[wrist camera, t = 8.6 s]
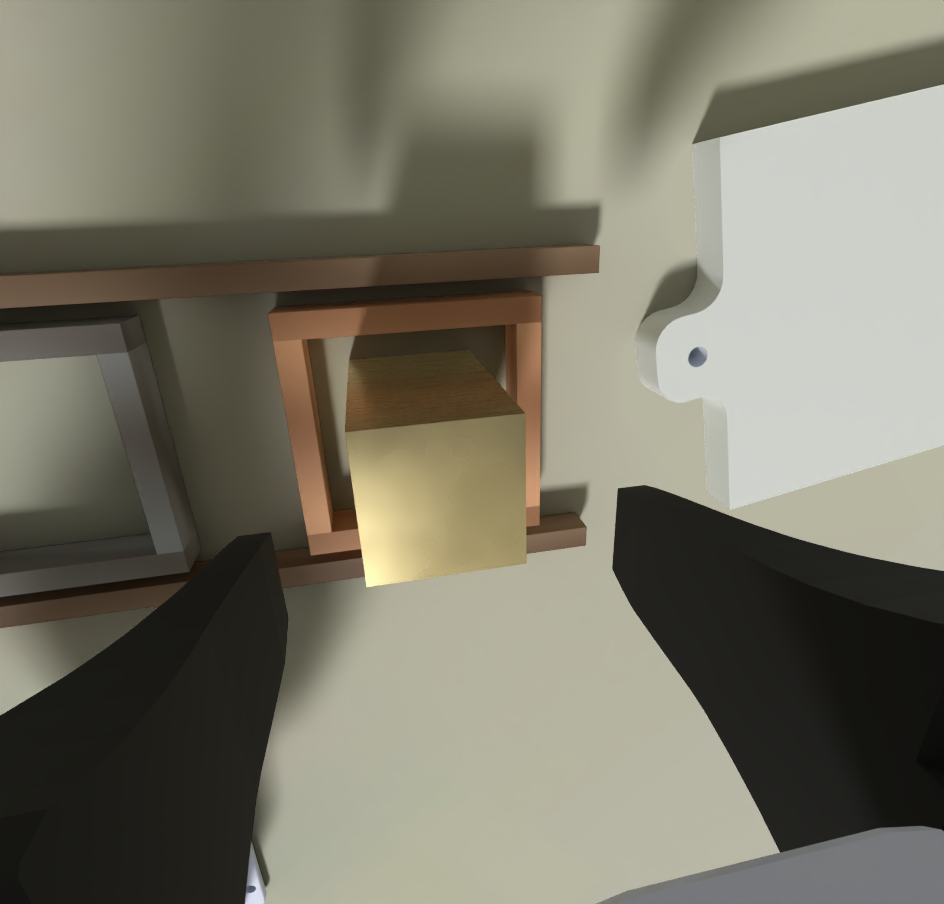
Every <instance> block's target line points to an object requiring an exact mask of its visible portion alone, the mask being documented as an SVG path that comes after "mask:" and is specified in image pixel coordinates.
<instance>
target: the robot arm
mask: <svg viewBox="0 0 944 904" xmlns="http://www.w3.org/2000/svg"><path fill="white" fill-rule="evenodd" d="M612 569H613V571H614V573H615V575H616V577H617V579H618V581H619V583H620V586H621V588H622V590H623V591H624V593H625V595H626V597H627V599H628V601H629V603H630V605H631V606H632V608H633V609H634V611H635V612H636V614H637V615H638V617H639V618H640V620H641V621H642V622H643V624H644V625H645V627H646V628H647V630H648V631H649V632H650V634H651V635H652V637H653V638H654V640H655V641H656V642H657V644H658V645H659V646H660V648H661V649H662V651H663V652H664V653H665V655H666V656H667V658H668V659H669V660H670V662H671V663H672V665H673V666H674V667H675V669H676V670H677V672H678V673H679V674H680V676H681V677H682V678H683V680H684V681H685V683H686V684H687V685H688V687H689V688H690V690H691V691H692V693H693V694H694V696H695V697H696V699H697V700H698V702H699V703H700V705H701V706H702V708H703V709H704V711H705V713H706V714H707V716H708V718H709V720H710V721H711V723H712V725H713V727H714V728H715V730H716V732H717V734H718V735H719V737H720V739H721V741H722V742H723V744H724V746H725V748H726V749H727V751H728V753H729V755H730V756H731V758H732V760H733V762H734V764H735V766H736V768H737V769H738V771H739V773H740V775H741V777H742V779H743V781H744V783H745V784H746V786H747V788H748V790H749V792H750V794H751V796H752V798H753V799H754V801H755V803H756V805H757V807H758V809H759V811H760V813H761V815H762V817H763V819H764V821H765V823H766V825H767V827H768V829H769V831H770V833H771V835H772V837H773V839H774V841H775V843H776V845H777V847H778V849H779V851H780V853H777V854H773V855H769V856H765V857H761V858H757V859H753V860H749V861H745V862H741V863H737V864H733V865H729V866H725V867H721V868H717V869H713V870H709V871H705V872H701V873H697V874H693V875H689V876H685V877H681V878H677V879H673V880H669V881H665V882H661V883H657V884H653V885H649V886H645V887H641V888H637V889H633V890H629V891H626V892H623V893H621V894H619V895H616V896H614V897H611V898H609V899H607V900H604V901H602V902H599V903H597V904H944V571H939V570H933V569H927V568H921V567H915V566H909V565H904V564H899V563H894V562H889V561H884V560H879V559H874V558H869V557H865V556H860V555H856V554H852V553H847V552H843V551H840V550H836V549H832V548H828V547H825V546H821V545H817V544H813V543H810V542H806V541H803V540H799V539H796V538H793V537H789V536H786V535H783V534H780V533H777V532H774V531H771V530H768V529H765V528H762V527H759V526H756V525H754V524H751V523H748V522H745V521H742V520H740V519H737V518H734V517H732V516H729V515H726V514H724V513H721V512H719V511H716V510H713V509H711V508H708V507H706V506H703V505H700V504H698V503H695V502H693V501H690V500H688V499H685V498H682V497H680V496H677V495H674V494H672V493H669V492H666V491H663V490H660V489H657V488H654V487H650V486H646V485H642V486H634V487H626V488H618V495H617V509H616V524H615V538H614V553H613V567H612ZM287 629H288V614H287V609H286V604H285V599H284V594H283V590H282V585H281V580H280V575H279V570H278V565H277V560H276V556H275V551H274V546H273V541H272V536H271V532H270V533H262V534H254V535H246V536H238V537H237V538H236V539H234V540H233V541H232V542H231V543H229V544H228V545H227V546H226V547H225V548H224V549H223V550H222V551H221V552H220V553H219V554H217V555H216V556H215V557H214V558H213V559H212V560H211V561H210V562H209V563H208V564H207V565H206V566H205V567H204V568H202V569H201V570H200V571H199V572H198V573H197V574H196V575H195V576H194V577H193V578H192V579H190V580H189V581H188V582H187V583H186V584H185V585H184V586H183V587H182V588H181V589H179V590H178V591H177V592H176V593H175V594H174V595H173V596H171V597H170V598H169V599H168V600H167V601H165V602H164V603H163V604H162V605H161V606H159V607H158V608H157V609H156V610H155V611H153V612H152V613H151V614H150V615H149V616H147V617H146V618H145V619H144V620H142V621H141V622H140V623H139V624H138V625H136V626H135V627H134V628H133V629H131V630H130V631H129V632H128V633H126V634H125V635H124V636H122V637H121V638H120V639H118V640H117V641H116V642H114V643H113V644H112V645H110V646H109V647H107V648H106V649H105V650H103V651H102V652H100V653H99V654H97V655H96V656H95V657H93V658H92V659H90V660H89V661H87V662H86V663H84V664H83V665H82V666H80V667H79V668H77V669H76V670H74V671H73V672H71V673H70V674H68V675H66V676H65V677H63V678H62V679H60V680H58V681H57V682H55V683H53V684H52V685H50V686H48V687H47V688H45V689H44V690H42V691H40V692H39V693H37V694H35V695H34V696H32V697H30V698H29V699H27V700H25V701H24V702H22V703H20V704H19V705H17V706H16V707H14V708H12V709H11V710H9V711H7V712H6V713H4V714H2V715H0V904H264V903H265V900H266V889H265V886H264V882H263V879H262V875H261V872H260V869H259V865H258V862H257V858H256V855H255V852H254V848H253V845H252V841H251V840H252V831H253V823H254V814H255V805H256V798H257V792H258V787H259V781H260V775H261V770H262V766H263V761H264V757H265V752H266V748H267V743H268V739H269V734H270V729H271V725H272V720H273V716H274V711H275V707H276V702H277V698H278V693H279V688H280V684H281V679H282V674H283V669H284V664H285V654H286V643H287Z"/></svg>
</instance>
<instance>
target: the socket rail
mask: <svg viewBox="0 0 944 904" xmlns="http://www.w3.org/2000/svg"><path fill="white" fill-rule="evenodd" d="M599 255H600V246H598V245H587V244H583V245H564V246H544V247H524V248H505V249H485V250H465V251H446V252H426V253H406V254H386V255H367V256H347V257H327V258H308V259H288V260H268V261H249V262H229V263H209V264H189V265H170V266H150V267H130V268H111V269H91V270H71V271H52V272H32V273H12V274H0V308H15V307H32V306H49V305H66V304H82V303H99V302H116V301H133V300H150V299H166V298H183V297H200V296H217V295H234V294H250V293H267V292H284V291H301V290H318V289H334V288H351V287H368V286H385V285H402V284H418V283H435V282H452V281H469V280H486V279H502V278H519V277H536V276H553V275H569V274H586V273H599ZM268 317H269V323H270V328H271V334H272V339H273V345H274V351H275V356H276V362H277V368H278V373H279V379H280V385H281V390H282V396H283V401H284V407H285V413H286V418H287V424H288V430H289V435H290V441H291V447H292V452H293V458H294V463H295V469H296V475H297V480H298V486H299V492H300V497H301V503H302V508H303V514H304V520H305V525H306V531H307V537H308V542H309V547H307V548H299V549H292V550H284V551H276V552H275V556H276V560H277V565H278V570H279V575H280V580H281V585H282V588H288V587H295V586H302V585H309V584H316V583H323V582H330V581H337V580H344V579H352V578H359V577H365V572H364V564H363V557H362V550H361V543H360V536H359V529H358V522H357V515H356V509H349V510H341V511H333V505H332V499H331V492H330V486H329V479H328V473H327V466H326V460H325V453H324V447H323V440H322V434H321V427H320V421H319V414H318V408H317V401H316V395H315V388H314V382H313V375H312V369H311V362H310V356H309V349H308V343H307V339H318V338H332V337H345V336H359V335H372V334H386V333H400V332H413V331H427V330H441V329H454V328H468V327H482V326H495V325H505V345H506V392H507V393H508V394H509V395H510V397H511V398H512V399H513V400H514V401H515V402H516V403H517V404H518V406H519V407H520V408H521V409H522V410H523V411H524V412H525V413H526V554H528V553H535V552H542V551H550V550H557V549H564V548H571V547H578V546H585V545H586V530H587V527H586V526H585V524H584V523H583V522H582V520H581V519H580V518H579V517H578V515H577V514H576V513H575V512H574V513H566V514H559V515H551V516H543V517H540V423H541V318H542V296H541V295H538V294H536V293H533V292H531V291H513V292H497V293H482V294H466V295H450V296H435V297H419V298H403V299H387V300H372V301H356V302H340V303H324V304H309V305H293V306H277V307H274V308H273V309H272V310H271V311H270V312H269V313H268ZM86 355H97V358H98V361H99V365H100V368H101V371H102V375H103V378H104V381H105V384H106V388H107V391H108V394H109V398H110V401H111V404H112V408H113V411H114V414H115V417H116V421H117V424H118V427H119V431H120V434H121V437H122V441H123V444H124V447H125V450H126V454H127V457H128V460H129V464H130V467H131V470H132V474H133V477H134V480H135V483H136V487H137V490H138V493H139V497H140V500H141V503H142V507H143V510H144V513H145V516H146V520H147V523H148V526H149V530H150V533H151V534H144V535H136V536H127V537H119V538H111V539H103V540H95V541H86V542H78V543H70V544H62V545H54V546H45V547H37V548H29V549H21V550H13V551H4V552H0V628H5V627H12V626H19V625H26V624H33V623H40V622H48V621H55V620H62V619H69V618H76V617H83V616H90V615H97V614H104V613H111V612H118V611H125V610H132V609H139V608H147V607H154V606H161V605H162V604H163V603H164V602H165V601H167V600H168V599H169V598H170V597H171V596H173V595H174V594H175V593H176V592H177V591H178V590H179V589H181V588H182V587H183V586H184V585H185V584H186V583H187V582H188V581H189V580H190V579H192V578H193V577H194V576H195V575H196V574H197V573H198V572H199V571H200V570H201V569H202V568H204V567H205V566H206V565H207V564H208V563H209V562H210V561H211V560H208V561H200V562H194V561H195V559H196V557H197V555H198V553H199V551H200V549H201V546H200V542H199V538H198V535H197V531H196V527H195V523H194V520H193V516H192V512H191V508H190V505H189V501H188V497H187V493H186V489H185V486H184V482H183V478H182V474H181V471H180V467H179V463H178V459H177V456H176V452H175V448H174V444H173V441H172V437H171V433H170V429H169V425H168V422H167V418H166V414H165V410H164V407H163V403H162V399H161V395H160V392H159V388H158V384H157V380H156V377H155V373H154V369H153V365H152V362H151V358H150V354H149V350H148V346H147V343H146V339H145V335H144V331H143V328H142V324H141V320H140V316H139V315H136V316H120V317H104V318H88V319H73V320H57V321H41V322H26V323H10V324H0V362H4V361H17V360H31V359H45V358H58V357H72V356H86Z"/></svg>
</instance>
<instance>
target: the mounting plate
mask: <svg viewBox="0 0 944 904" xmlns="http://www.w3.org/2000/svg"><path fill="white" fill-rule="evenodd" d="M692 160H693V183H694V206H695V229H696V252H697V280H696V283H695V287H694V289H693V290H692V292H691V294H690V295H689V296H688V297H687V299H686V300H684V301H683V302H682V303H680V304H679V305H676V306H674V307H671V308H667V309H663V310H659V311H657V312H654V313H652V314H651V315H649V316H648V317H647V318H645V320H644V321H643V322H642V323H641V325H640V326H639V328H638V330H637V333H636V337H635V350H636V360H637V371H638V376H639V379H640V381H641V382H642V384H643V385H644V386H646V387H647V388H648V389H650V390H652V391H654V392H656V393H657V394H659V395H661V396H663V397H665V398H666V399H668V400H671V401H673V402H679V403H681V402H687V401H691V400H694V399H698V398H702V401H703V413H704V435H705V458H706V481H707V493H708V494H709V495H711V496H712V497H713V498H715V499H716V500H717V501H719V502H720V503H721V504H723V505H724V506H725V507H726V508H728V509H729V510H731V509H735V508H738V507H741V506H745V505H748V504H751V503H755V502H758V501H761V500H764V499H768V498H771V497H774V496H778V495H781V494H784V493H788V492H791V491H794V490H798V489H801V488H804V487H808V486H811V485H814V484H817V483H821V482H824V481H827V480H831V479H834V478H837V477H841V476H844V475H847V474H851V473H854V472H857V471H861V470H864V469H867V468H870V467H874V466H877V465H880V464H884V463H887V462H890V461H894V460H897V459H900V458H904V457H907V456H910V455H914V454H917V453H920V452H923V451H927V450H930V449H933V448H937V447H940V446H943V445H944V84H943V85H939V86H935V87H931V88H926V89H922V90H918V91H914V92H909V93H905V94H901V95H897V96H893V97H888V98H884V99H880V100H876V101H871V102H867V103H863V104H859V105H854V106H850V107H846V108H842V109H838V110H833V111H829V112H825V113H821V114H816V115H812V116H808V117H804V118H799V119H795V120H791V121H787V122H782V123H778V124H774V125H770V126H766V127H761V128H757V129H753V130H749V131H744V132H740V133H736V134H732V135H727V136H723V137H719V138H715V139H711V140H707V141H703V142H699V143H695V144H692Z"/></svg>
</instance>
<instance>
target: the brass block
mask: <svg viewBox="0 0 944 904" xmlns="http://www.w3.org/2000/svg"><path fill="white" fill-rule="evenodd" d="M345 437H346V444H347V451H348V458H349V465H350V472H351V479H352V487H353V494H354V501H355V508H356V515H357V522H358V529H359V536H360V543H361V550H362V557H363V564H364V572H365V579H366V586H367V587H371V586H377V585H384V584H391V583H398V582H404V581H411V580H418V579H424V578H431V577H438V576H444V575H451V574H458V573H465V572H471V571H478V570H485V569H491V568H498V567H505V566H511V565H518V564H525V563H526V413H525V412H524V411H523V410H522V409H521V408H520V407H519V406H518V404H517V403H516V402H515V401H514V400H513V399H512V398H511V397H510V395H509V394H508V393H507V392H506V391H505V390H504V389H503V388H502V387H501V385H500V384H499V383H498V382H497V381H496V380H495V379H494V378H493V376H492V375H491V374H490V373H489V372H488V371H487V370H486V369H485V368H484V366H483V365H482V364H481V363H480V362H479V361H478V360H477V359H476V357H475V356H474V355H473V354H472V353H471V352H470V351H469V350H460V351H448V352H436V353H424V354H413V355H401V356H389V357H377V358H365V359H353V360H349V368H348V386H347V403H346V421H345Z"/></svg>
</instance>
